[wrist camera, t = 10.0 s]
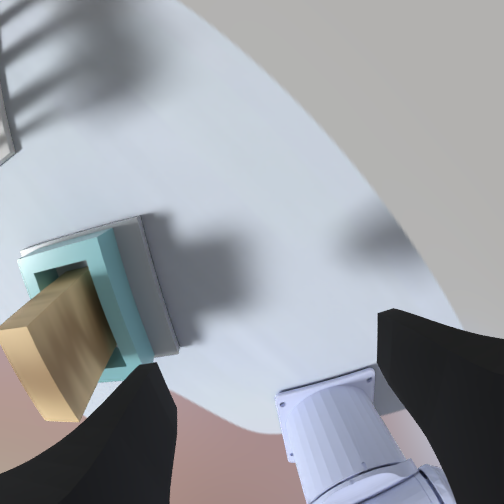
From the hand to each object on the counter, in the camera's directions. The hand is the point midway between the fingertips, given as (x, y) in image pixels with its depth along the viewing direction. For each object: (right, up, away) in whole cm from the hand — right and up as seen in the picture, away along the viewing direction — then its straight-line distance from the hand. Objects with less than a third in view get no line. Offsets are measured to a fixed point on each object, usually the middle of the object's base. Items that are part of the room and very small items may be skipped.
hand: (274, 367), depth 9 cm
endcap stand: (-11, 0, +9) cm, 14 cm away
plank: (-11, 0, +8) cm, 14 cm away
